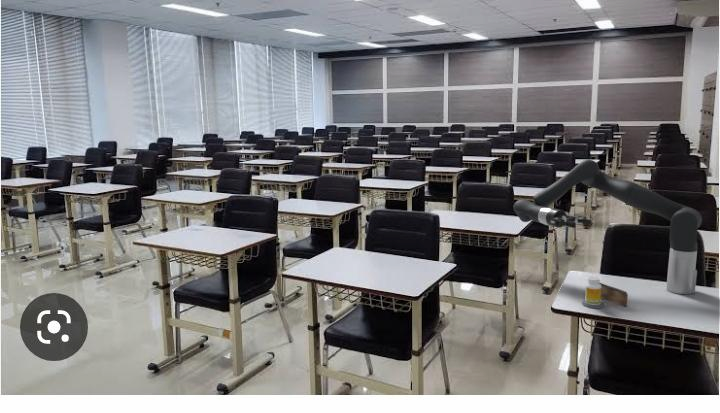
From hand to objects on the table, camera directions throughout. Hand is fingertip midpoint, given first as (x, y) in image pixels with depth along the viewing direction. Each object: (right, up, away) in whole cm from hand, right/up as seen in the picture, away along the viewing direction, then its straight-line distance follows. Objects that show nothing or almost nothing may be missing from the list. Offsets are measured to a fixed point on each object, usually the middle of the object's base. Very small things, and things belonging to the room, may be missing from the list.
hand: (583, 224), depth 214 cm
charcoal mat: (0, -30, -10) cm, 32 cm away
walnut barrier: (+8, -29, -6) cm, 31 cm away
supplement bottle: (0, -30, -10) cm, 31 cm away
